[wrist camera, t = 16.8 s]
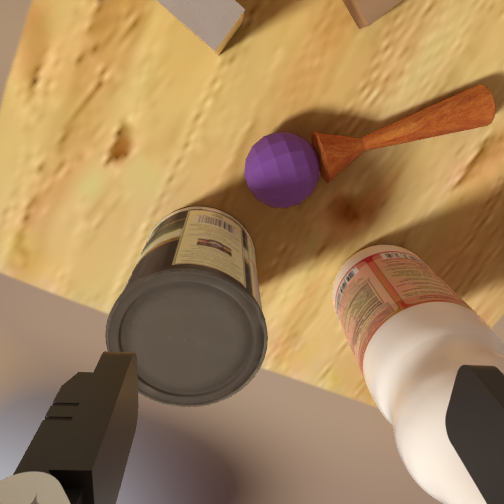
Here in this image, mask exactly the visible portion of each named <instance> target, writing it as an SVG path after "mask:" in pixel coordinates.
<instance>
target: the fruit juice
mask: <svg viewBox="0 0 504 504" xmlns="http://www.w3.org/2000/svg"><path fill="white" fill-rule="evenodd" d="M332 300H333V306H334V309H335V312H336V314H337V317H338V319H339V321H340V324H341V326H342V328H343V331H344V333H345V335H346V338H347V340H348V342H349V345H350V347H351V349H352V352H353V354H354V356H355V358H356V361H357V363H358V365H359V368H360V370H361V372H362V375H363V377H364V379H365V382H366V385H367V387H368V389H369V391H370V393H371V395H372V397H373V399H374V401H375V403H376V405H377V406H378V408H379V410H380V411H381V413H382V414H383V415H384V417H385V418H386V419H387V420H388V421H389V422H390V423H391V424H392V425H393V427H394V436H395V442H396V446H397V449H398V452H399V455H400V457H401V458H402V460H403V462H404V464H405V466H406V468H407V470H408V471H409V473H410V474H411V476H412V477H413V479H414V480H415V481H416V482H417V483H418V484H419V486H420V487H421V488H422V489H424V490H425V491H426V492H427V493H428V494H430V495H431V496H433V497H434V498H435V499H437V500H439V501H440V502H442V503H444V504H487V503H486V501H485V500H484V498H483V496H482V495H481V493H480V491H479V490H478V488H477V486H476V484H475V483H474V481H473V479H472V478H471V476H470V474H469V473H468V471H467V469H466V468H465V466H464V464H463V463H462V461H461V459H460V457H459V456H458V454H457V452H456V451H455V449H454V447H453V446H452V444H451V442H450V440H449V438H448V435H447V432H446V426H445V417H446V412H447V408H448V404H449V400H450V397H451V393H452V389H453V386H454V382H455V378H456V375H457V371H458V369H459V368H460V367H461V366H462V365H485V366H495V367H497V368H498V369H499V370H500V371H501V372H502V373H503V374H504V344H503V342H502V341H501V340H500V338H499V337H498V336H497V335H496V333H495V332H494V331H493V330H492V329H491V327H490V326H489V325H488V324H487V323H486V322H485V321H484V320H483V319H482V318H481V317H480V316H479V315H478V314H477V313H476V312H474V311H473V310H472V309H471V308H470V307H469V306H468V305H467V304H466V303H465V302H464V301H463V300H462V299H461V298H460V297H459V296H458V295H457V294H456V293H455V292H454V291H453V290H452V289H451V288H450V287H449V286H448V285H447V284H446V283H445V282H444V281H443V280H442V279H441V278H440V277H439V276H438V275H437V274H436V273H435V272H434V271H433V270H432V269H431V268H430V267H429V266H428V265H427V264H426V263H425V262H424V261H423V260H422V259H421V258H419V257H418V256H417V255H416V254H414V253H412V252H411V251H409V250H407V249H405V248H402V247H399V246H395V245H375V246H371V247H368V248H365V249H363V250H360V251H359V252H357V253H355V254H354V255H352V256H351V257H350V258H349V259H348V260H346V261H345V263H344V264H343V265H342V266H341V268H340V269H339V271H338V272H337V274H336V277H335V279H334V283H333V288H332Z"/></svg>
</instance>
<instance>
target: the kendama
mask: <svg viewBox="0 0 504 504" xmlns="http://www.w3.org/2000/svg"><path fill="white" fill-rule="evenodd" d="M494 117H495V101H494V99H493V96H492V93H491V92H490V90H489V89H488V88H487V87H486V86H484V85H476V86H474V87H472V88H469V89H467V90H465V91H463V92H461V93H458V94H456V95H454V96H452V97H450V98H447V99H445V100H443V101H441V102H438V103H436V104H434V105H432V106H430V107H427V108H425V109H423V110H421V111H419V112H416V113H414V114H412V115H410V116H408V117H405V118H403V119H401V120H399V121H396V122H394V123H392V124H390V125H388V126H385V127H383V128H381V129H379V130H377V131H374V132H372V133H370V134H368V135H365V136H363V137H361V138H356V137H348V136H340V135H332V134H324V133H316V132H313V134H312V145H313V147H312V146H311V145H310V143H309V142H308V141H307V140H305V139H303V138H301V137H299V136H298V135H296V134H294V133H285V132H276V133H273V134H270V135H267V136H264V137H263V138H262V139H260V140H259V141H258V142H257V143H256V144H255V145H253V146H252V148H251V150H250V152H249V154H248V156H247V158H246V162H245V179H246V182H247V185H248V188H249V190H250V191H251V192H252V193H253V194H254V196H255V197H256V198H257V199H258V200H259V201H261V202H263V203H265V204H267V205H268V206H270V207H277V208H288V207H291V206H294V205H297V204H300V203H301V202H302V201H304V200H305V199H306V198H307V197H308V196H309V195H311V194H312V192H313V190H314V188H315V186H316V184H317V183H318V181H319V171H320V173H321V175H322V177H323V179H324V180H325V182H327V183H329V182H330V181H331V180H332V179H333V178H334V177H336V176H337V175H338V174H339V173H340V172H341V171H342V170H343V169H344V168H346V167H347V166H348V165H349V164H350V163H351V162H352V161H353V160H354V159H356V158H357V157H358V156H359V155H360V154H361V153H362V152H363V151H367V150H372V149H377V148H381V147H386V146H391V145H396V144H401V143H406V142H411V141H415V140H420V139H425V138H430V137H435V136H440V135H444V134H449V133H454V132H459V131H464V130H469V129H473V128H478V127H483V126H488V125H489V124H491V123H492V121H493V119H494Z"/></svg>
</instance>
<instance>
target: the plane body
mask: <svg viewBox="0 0 504 504" xmlns="http://www.w3.org/2000/svg"><path fill="white" fill-rule="evenodd" d="M401 1H402V0H343V2H344V3H345V5H346V7H347V9H348V10H349V12H350V14H351V16H352V17H353V19H354V21H355V22H356V24H357V26H358V28H359V29H361V28H363V27H366V26H369V25H371V24H372V23H373V22H375V21H376V20H377V19H379V18H380V17H381V16H383V15H384V14H385V13H387V12H388V11H389V10H391V9H392V8H393V7H394V6H396V5H397V4H398V3H400V2H401Z"/></svg>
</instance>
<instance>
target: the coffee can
mask: <svg viewBox="0 0 504 504" xmlns="http://www.w3.org/2000/svg"><path fill="white" fill-rule="evenodd" d="M267 339H268V336H267V327H266V322H265V318H264V315H263V312H262V306H261V299H260V292H259V284H258V277H257V270H256V254H255V249H254V245H253V242H252V239H251V237H250V235H249V233H248V232H247V230H246V229H245V228H244V227H243V225H242V224H241V223H240V222H239V221H237V220H236V219H235V218H234V217H232V216H231V215H229V214H227V213H225V212H223V211H220V210H218V209H215V208H210V207H200V206H198V207H187V208H184V209H180V210H177V211H175V212H173V213H171V214H169V215H167V216H166V217H165V218H163V219H162V220H161V221H160V222H159V223H158V224H157V225H156V226H155V227H154V228H153V230H152V231H151V233H150V235H149V237H148V240H147V243H146V246H145V248H144V249H143V252H142V254H141V256H140V258H139V260H138V262H137V264H136V267H135V269H134V271H133V272H132V275H131V276H130V279H129V280H128V282H127V284H126V286H125V288H124V291H123V292H122V293H121V295H120V296H119V298H118V299H117V301H116V302H115V304H114V306H113V308H112V310H111V312H110V314H109V317H108V320H107V325H106V345H107V350H108V352H135V353H136V355H137V376H138V392H139V393H140V394H142V395H144V396H146V397H148V398H150V399H152V400H155V401H157V402H160V403H163V404H167V405H172V406H180V407H197V406H203V405H209V404H212V403H216V402H219V401H221V400H224V399H227V398H229V397H231V396H232V395H234V394H236V393H237V392H239V391H240V390H241V389H243V388H244V387H245V386H246V385H247V384H248V383H249V382H250V381H251V380H252V379H253V378H254V377H255V375H256V373H257V372H258V370H259V369H260V367H261V365H262V363H263V360H264V358H265V354H266V350H267Z"/></svg>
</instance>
